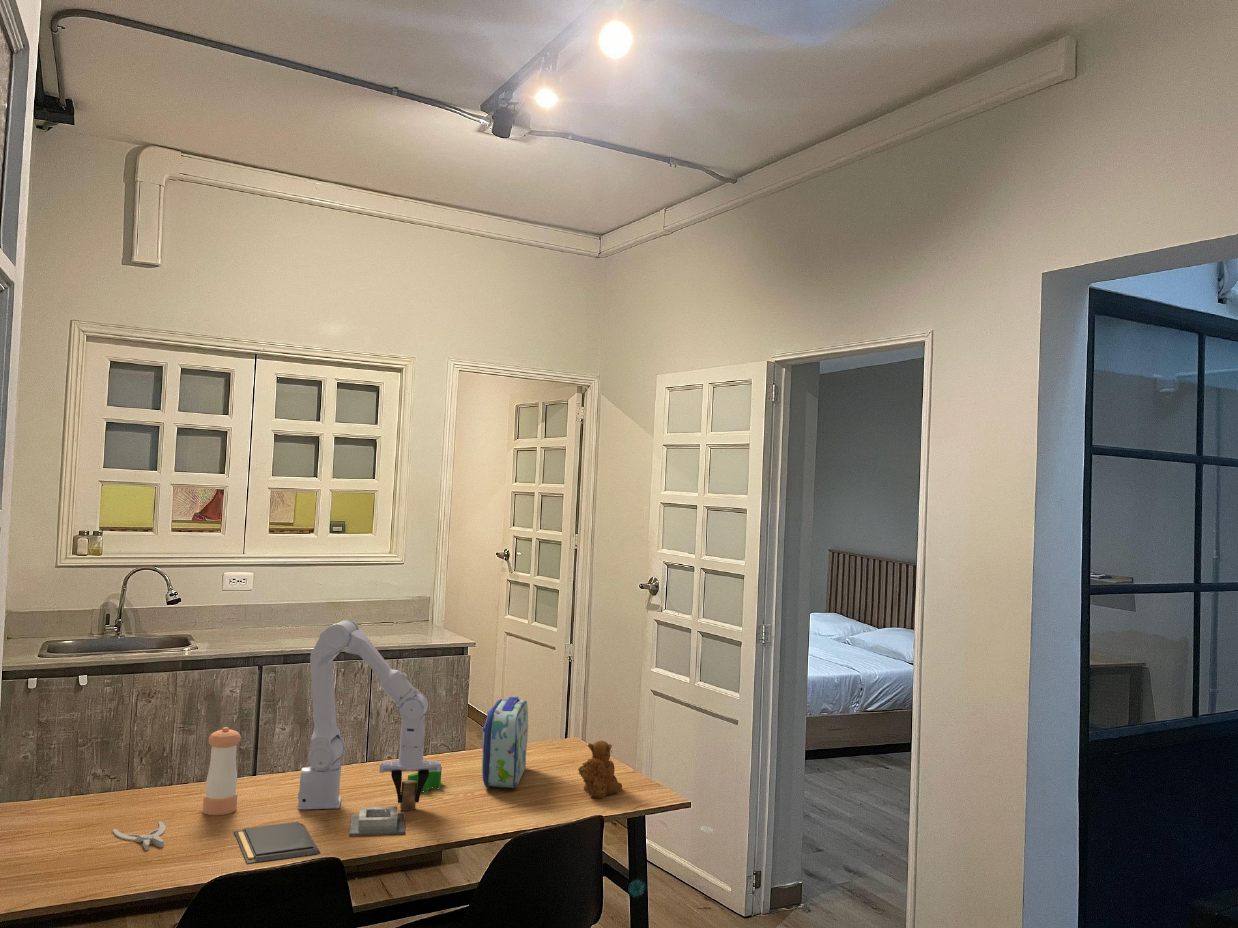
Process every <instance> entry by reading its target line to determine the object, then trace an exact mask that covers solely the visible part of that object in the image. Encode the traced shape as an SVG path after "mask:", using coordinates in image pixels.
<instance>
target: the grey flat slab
mask: <svg viewBox="0 0 1238 928" xmlns="http://www.w3.org/2000/svg"><path fill="white" fill-rule="evenodd" d="M307 829H308V828H306V826H305V825H304V824H303V823H300V821H294V822H292V821H291V822H284V823H275V824H270V825H269V824H268V825H261V826H253V827H245V828H242V829H240V830H234V831H233V835H234V837H235V839H236V842H237V844H238V847H239V849H240V851H241V853H242V856H243V860H244V862H245V864H246V865H252V864H260V863H269V862H276V861H284V860H290V859H291V860H293V859H298V858H306V857H307V858H308V857H311V856H312V857H313V856H317V855H320V854H321V853H322V852H321V850H320V849H319V847H318V845H317V843H315V842H314V840H313V838H312V836H311V835H310V833H309V831H308V830H307Z"/></svg>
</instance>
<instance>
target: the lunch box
mask: <svg viewBox="0 0 1238 928" xmlns="http://www.w3.org/2000/svg"><path fill="white" fill-rule="evenodd" d="M486 713H487V714H486V720H485V723H484V724H483V727H482V759H481V764H482V767H481V770H482V772H481V773H482V782H483V786H485V787H489V786H490V787H495V788H511V789H515V788H518V785H519V783H520V781H521V779H522V777H523V774H524V772H525V770H526V766H527V747H528V735H529V734H528V733H529V707H528V701H526V700H524V699H520V698H519V696H509V697H508V698H507V699H506V698H504V699H502V698H499V699H498V700H496V702H495V703H494V705H493V706H492V707H491V708H490V709H489V710H488V711H487V712H486Z"/></svg>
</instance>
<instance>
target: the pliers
mask: <svg viewBox="0 0 1238 928" xmlns="http://www.w3.org/2000/svg"><path fill="white" fill-rule="evenodd" d="M157 824H158V826H159V827H158V828H156V829H154V830H151V831H150V832H148V834H137V833H135V834H134V833H131V834H129V833H128V834H125V833H122V832H121V831H119V830H118V829H117V828H113V830H112V832H113V835H114V836H117V838H118V839H120V838H121V840H123V839H124V840H123V841H128V840H131V841H130V842H137V843H142V846H143V848H144V850H145V851H149V850H150V845H154V846H156V847H158V848H161V849H162V848H163V847H164V846H165V845H164V844H165V840H164V839H163V838H162V837H161V836H163V835H164V833H165V832H166V827H167V826H166V824H165V823H164V822H163V821H157ZM133 836H137V837H133Z"/></svg>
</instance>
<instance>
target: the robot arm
mask: <svg viewBox="0 0 1238 928" xmlns="http://www.w3.org/2000/svg"><path fill="white" fill-rule="evenodd" d="M344 649H345V650H344ZM343 650H344V652H345V653H347V654H352V655H358V656H359V657H360V658H361V659H362V660H363V662H365V663H366V664H367V666H369V667H370V669H371V670H372V671H373V672H374V673H375V674H376V675H377V676H378V677H379V678H380V688H381V689H382V690H383V691H384V692H385V693H386V695H387V696H388V697H389V698H390V699H391V701H392V702H393V703H394V704H395V706H397V707H399V708H398V709H399V715H400V717H401V726H400V735H399V736H400V738H399V754H398V760H396V761H395V760H394V761H387V762H384V761H383V762H379V774H381V773H382V774H384V773H391V776H390V777H391V779H392V782H393V784H394V786H395V791H396V795H397V803H398V804H401V789H402V782H403V780H402V779H403V772H418V780H417V791H416V804H418V803H419V802H420V797H421V794H422V792H421V791H422V789H423V786H424V784H425V782H426V781H427V779H428V777H429V771H436V772H441V773H442V771H441V767H442V762H441V761H436V760H435V761H432V760H424V750H425V749H424V748H425V747H424V746H425V733H426V732H425V731H426V725H425V723H426V712H427V710H428V708H429V701H428V698H427V697H426V694H424V693H423V692H420V690H419V688H415V687H414V686H413V685H412V684H411V682H410V680H408V678H407V677H408V675H407V674H406V672H404V671H403V672H402V671H401V670H399V669H393V668H391V666H390V665H389V664H388V662H387V661H386V659H384V657H383V656H382V655H381V653H380V652H379V651H378V649H377V648H376V646H375V645H374V644H373V642H371V640H370V639H369V637H368V635H367V634H366V633H365V631H364V630H363V629H361V628H359V625H358V624H357V623H356V622H355V621H353V620H351V619H343V620H341V621H339V622H336V623H334V624H331V625H329V626H328V627H326V629H325V628H324V630H323V631H322V632H320V633H319V635H318V640H317V642H316V643H315V645H314V647H313V649H312V650H311V653H310V656H309V659H310V661H309V662H310V677H311V679H310V680H311V696H312V713H313V732H312V735H311V738H310V748H309V751H308V754H307V761H308V764H309V766H305V767H301V770H300V778H299V789H298V793H297V799H298V802H297V803H298V804H297V810H320V809H321V810H322V809H323V810H326V809H327V810H328V809H329V810H331V809H333V810H334V809H340V807H341V800H342V796H341V795H340V790H341V789H340V788H341V776H342V775H341V772H342V762H341V760H340V758H341V757H342V756H343V754H344V752H345V749H346V745H345V742H344V740H343V738H342V736H341V729H340V728H339V726H338V724H337V712H336V711H337V709H336V694H335V678H334V677H335V675H334V663H333V662H334V659H335V658H336V657H337V656H338V655H339V654H340V653H341V652H342V651H343Z"/></svg>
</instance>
